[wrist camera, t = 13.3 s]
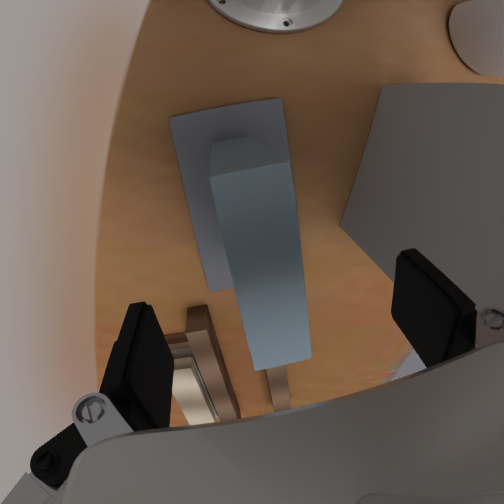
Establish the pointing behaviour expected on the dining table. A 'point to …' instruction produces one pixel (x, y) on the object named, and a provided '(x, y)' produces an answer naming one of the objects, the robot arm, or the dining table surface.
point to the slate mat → (198, 166)
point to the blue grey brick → (262, 248)
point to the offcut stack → (189, 383)
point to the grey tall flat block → (435, 184)
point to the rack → (216, 372)
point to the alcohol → (479, 35)
